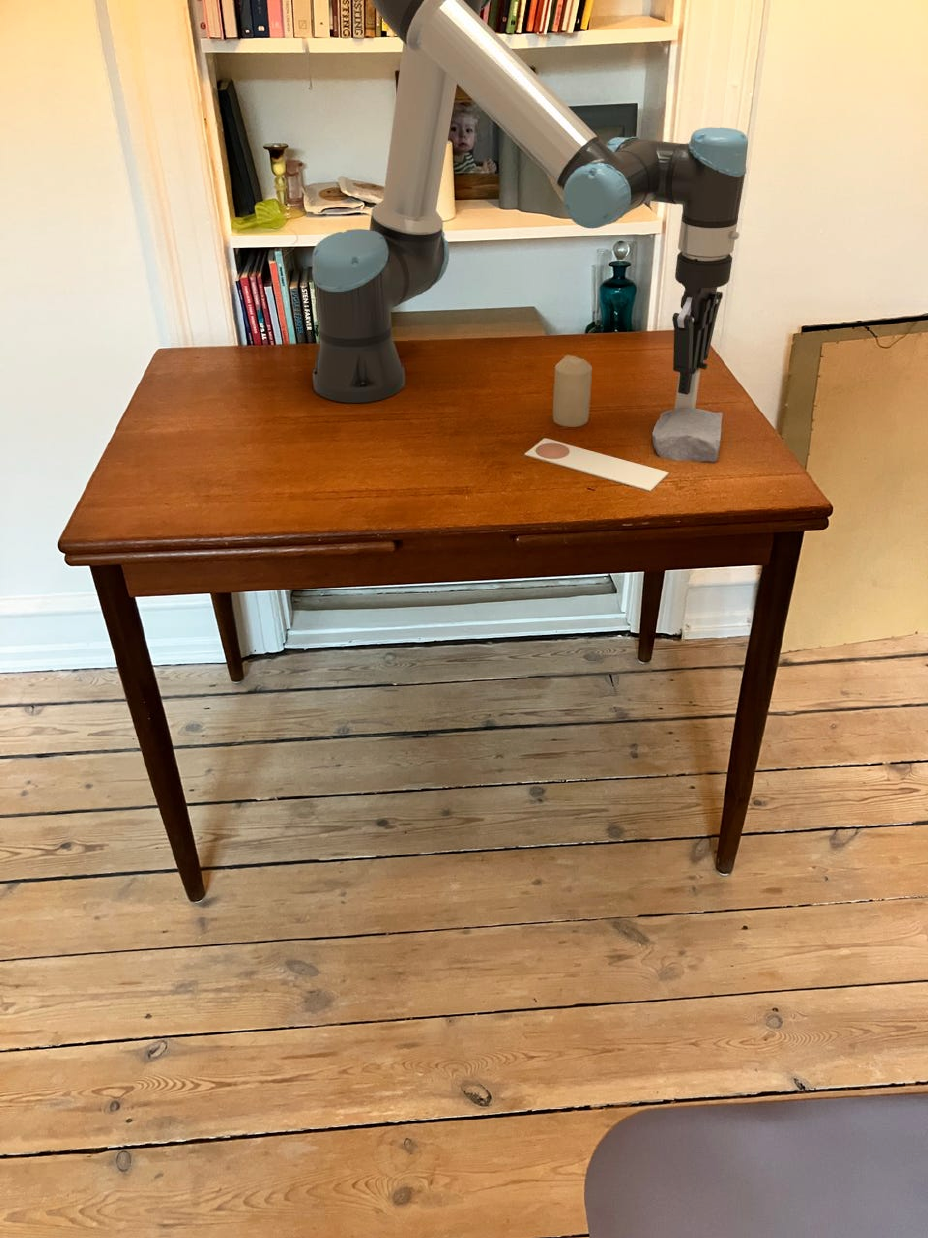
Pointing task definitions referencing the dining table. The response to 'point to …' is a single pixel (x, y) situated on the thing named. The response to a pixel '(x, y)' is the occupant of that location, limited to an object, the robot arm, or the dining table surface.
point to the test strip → (597, 464)
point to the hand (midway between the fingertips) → (684, 410)
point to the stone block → (688, 435)
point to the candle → (572, 391)
